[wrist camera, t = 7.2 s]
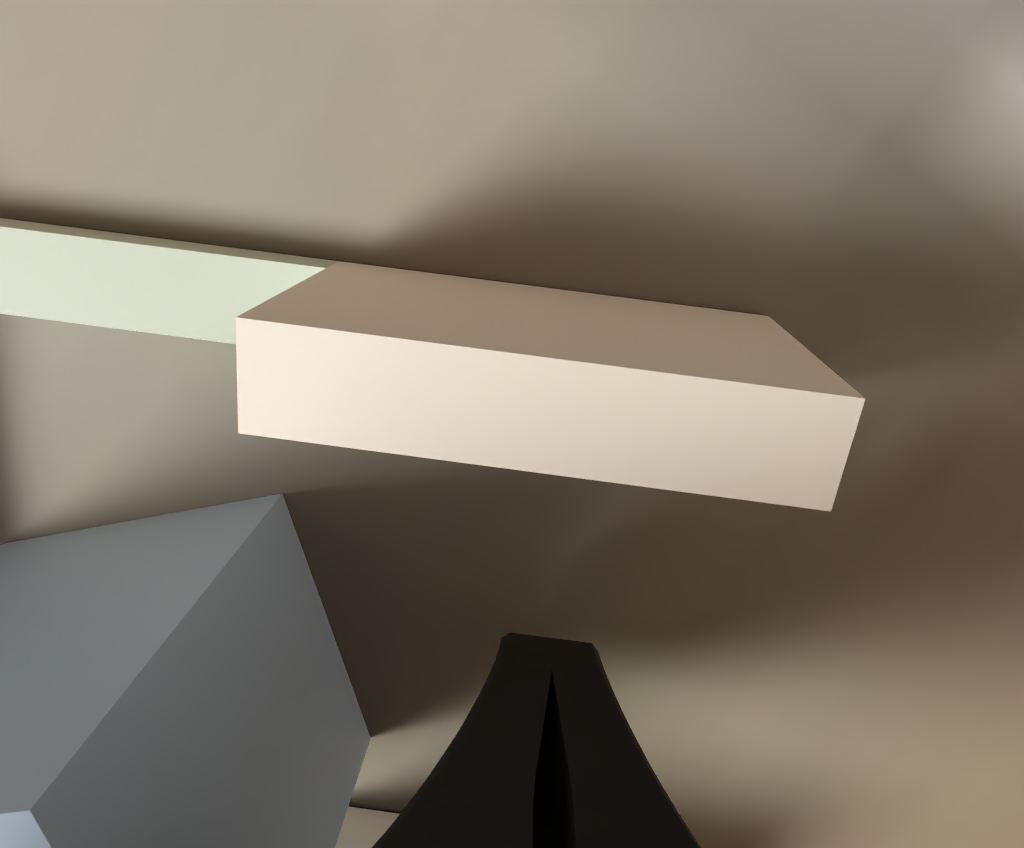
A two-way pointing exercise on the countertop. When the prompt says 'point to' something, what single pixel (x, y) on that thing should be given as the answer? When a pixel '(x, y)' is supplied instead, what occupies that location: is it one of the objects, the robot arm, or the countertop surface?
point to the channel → (465, 369)
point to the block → (172, 687)
